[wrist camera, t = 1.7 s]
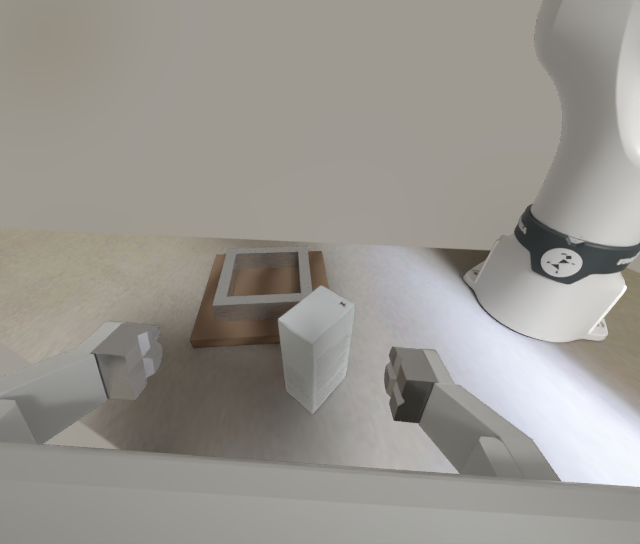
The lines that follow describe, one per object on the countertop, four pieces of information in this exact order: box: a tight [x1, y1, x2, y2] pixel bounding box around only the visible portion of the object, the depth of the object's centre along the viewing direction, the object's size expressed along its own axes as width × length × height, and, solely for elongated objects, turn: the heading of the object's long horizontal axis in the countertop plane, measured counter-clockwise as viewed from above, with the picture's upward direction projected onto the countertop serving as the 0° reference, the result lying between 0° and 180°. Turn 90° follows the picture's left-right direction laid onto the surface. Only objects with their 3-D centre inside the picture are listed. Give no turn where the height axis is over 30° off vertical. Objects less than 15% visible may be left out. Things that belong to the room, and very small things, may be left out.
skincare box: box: [278, 286, 355, 414], centre depth 29 cm, size 6×4×12 cm
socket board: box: [190, 246, 329, 348], centre depth 42 cm, size 18×18×4 cm
